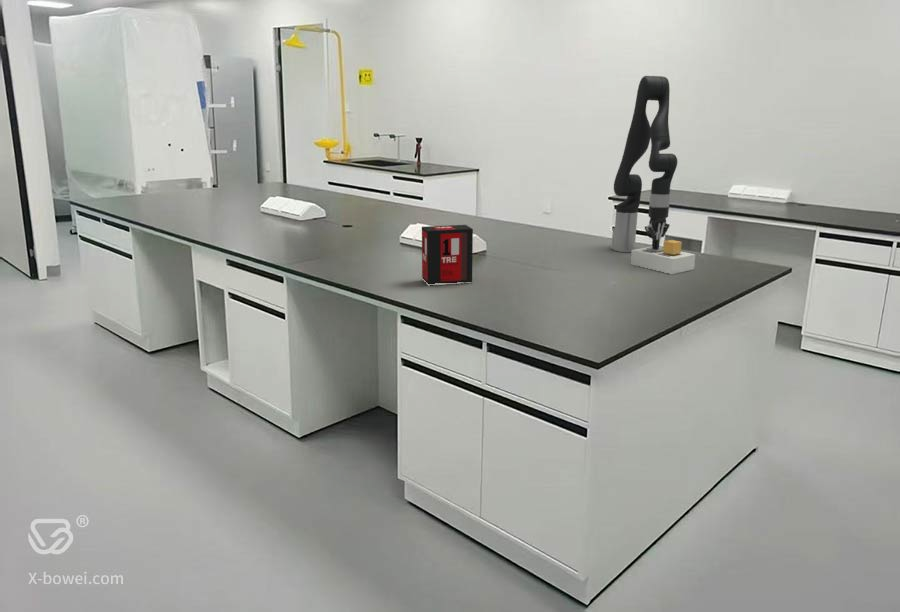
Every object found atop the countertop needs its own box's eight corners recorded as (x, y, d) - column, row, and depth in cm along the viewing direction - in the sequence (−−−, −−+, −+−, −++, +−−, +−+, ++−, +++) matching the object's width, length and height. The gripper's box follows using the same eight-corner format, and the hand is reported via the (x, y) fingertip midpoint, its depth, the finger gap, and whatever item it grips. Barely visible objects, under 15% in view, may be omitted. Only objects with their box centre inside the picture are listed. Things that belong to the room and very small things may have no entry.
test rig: (630, 264, 277) (631, 249, 275) (652, 260, 285) (654, 245, 283) (671, 274, 261) (673, 258, 259) (693, 269, 269) (695, 254, 267)
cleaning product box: (465, 277, 256) (465, 224, 250) (472, 283, 248) (472, 228, 242) (422, 280, 252) (421, 226, 246) (427, 286, 244) (427, 231, 238)
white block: (645, 258, 276) (646, 247, 275) (653, 257, 278) (654, 246, 277) (655, 261, 272) (656, 249, 271) (662, 259, 275) (663, 248, 273)
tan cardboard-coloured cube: (662, 252, 268) (663, 241, 267) (670, 251, 271) (671, 239, 270) (672, 254, 265) (673, 243, 263) (680, 253, 267) (681, 241, 266)
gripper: (662, 202, 276) (658, 244, 281) (640, 205, 268) (637, 248, 273) (677, 204, 270) (673, 248, 275) (656, 207, 262) (652, 251, 267)
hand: (655, 248), depth 274 cm, fingers closed
